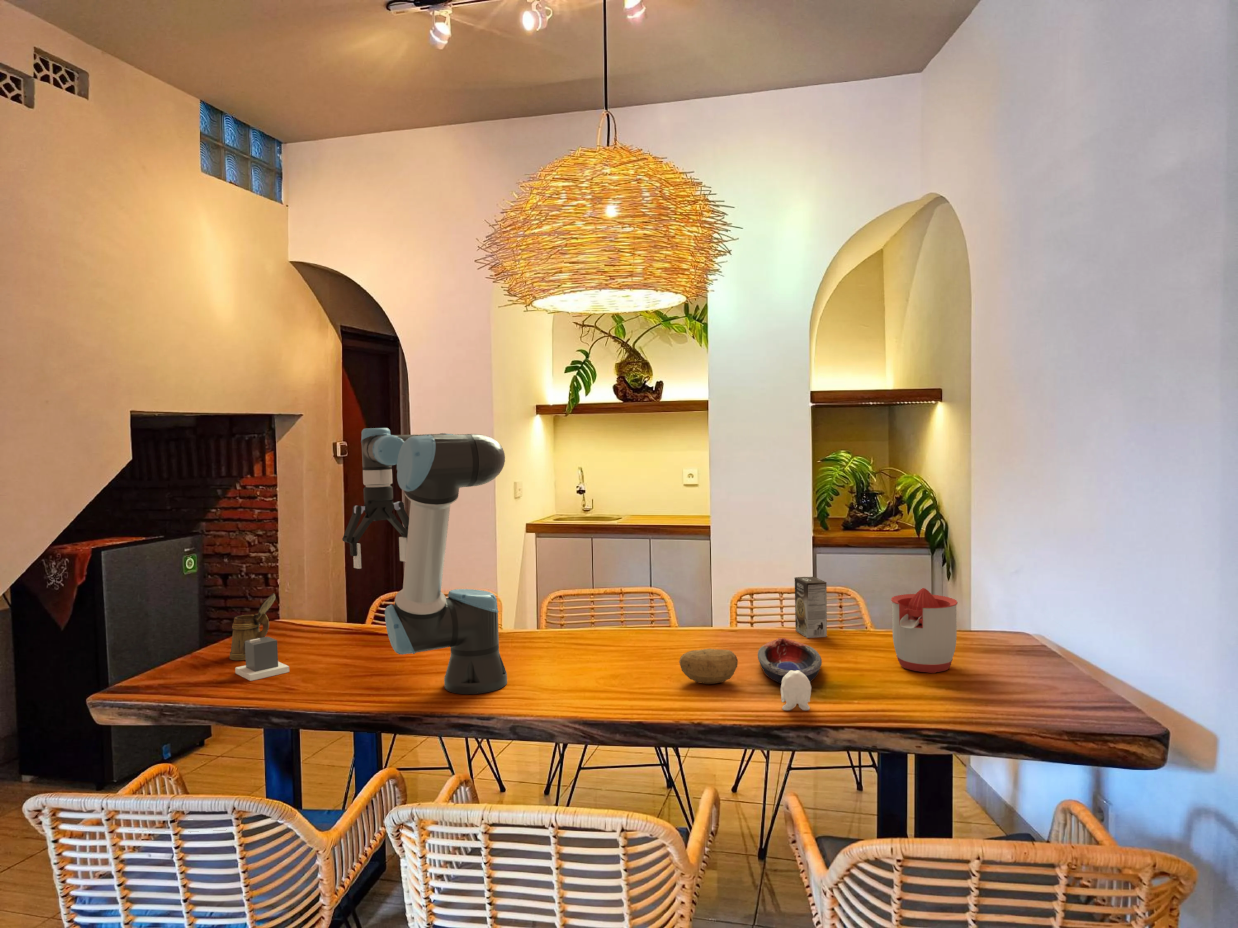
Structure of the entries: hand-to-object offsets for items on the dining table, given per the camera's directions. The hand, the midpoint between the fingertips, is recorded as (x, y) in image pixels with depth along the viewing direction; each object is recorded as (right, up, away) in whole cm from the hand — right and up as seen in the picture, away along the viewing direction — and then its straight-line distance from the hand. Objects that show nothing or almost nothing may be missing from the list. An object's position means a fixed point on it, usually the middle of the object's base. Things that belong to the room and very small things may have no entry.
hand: (381, 564), depth 222 cm
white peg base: (-30, -28, -5) cm, 41 cm away
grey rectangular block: (-30, -26, -5) cm, 40 cm away
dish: (+107, -25, -14) cm, 111 cm away
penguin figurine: (+103, -26, -40) cm, 113 cm away
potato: (+86, -26, -23) cm, 92 cm away
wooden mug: (-39, -27, +11) cm, 49 cm away
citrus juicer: (+140, -24, -15) cm, 143 cm away
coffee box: (+120, -23, +20) cm, 124 cm away
